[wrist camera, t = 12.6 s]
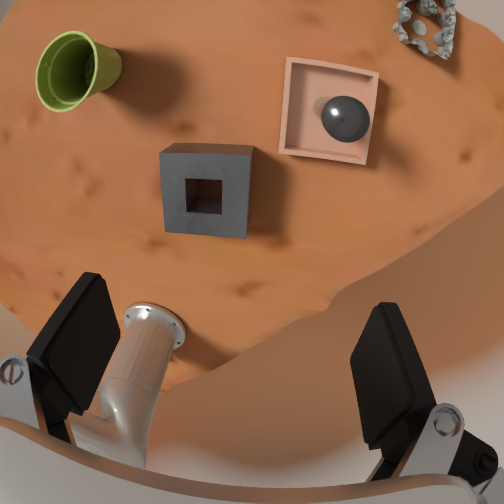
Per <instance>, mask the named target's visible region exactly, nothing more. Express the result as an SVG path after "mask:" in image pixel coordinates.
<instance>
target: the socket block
mask: <svg viewBox="0 0 504 504" xmlns="http://www.w3.org/2000/svg"><path fill="white" fill-rule="evenodd" d="M253 155H254V146H247V145H230V144H201V143H173V144H172V145H170V146H169V147H167V148H166V149H164V150H163V151H162V152H160V153H159V156H160V174H161V189H162V201H163V213H164V223H165V232H171V233H184V234H196V235H208V236H220V237H232V238H244V239H246V236H247V231H248V225H249V220H250V204H251V187H252V171H253ZM196 179H214V180H222V197H207V196H197V184H196Z"/></svg>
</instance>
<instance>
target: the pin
mask: <svg viewBox="0 0 504 504" xmlns="http://www.w3.org/2000/svg"><path fill="white" fill-rule="evenodd" d="M313 110H314V113H315V115H316V116H317V118H319V119H320V120H321V122H322V125H323V127H324V129H325V130H326V132H327V133H328V134H329V135H330V136H331V137H333V138H334V139H336V140H337V141H340V142H344V143H351V142H355V141H358V140H359V139H361V138H362V137H363V136H364V135H365V134H366V133H367V131H368V129H369V125H370V116H369V112H368V110H367V108H366V107H365V105H364V104H363V103H362V102H361V101H359V100H358V99H356V98H353V97H350V96H336V97H333V98H331V97H321V98H319V99H317V100H316V102H315V103H314V106H313Z"/></svg>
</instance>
